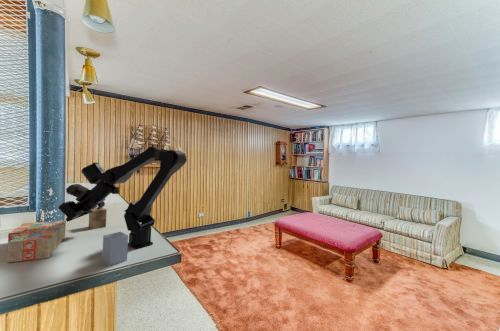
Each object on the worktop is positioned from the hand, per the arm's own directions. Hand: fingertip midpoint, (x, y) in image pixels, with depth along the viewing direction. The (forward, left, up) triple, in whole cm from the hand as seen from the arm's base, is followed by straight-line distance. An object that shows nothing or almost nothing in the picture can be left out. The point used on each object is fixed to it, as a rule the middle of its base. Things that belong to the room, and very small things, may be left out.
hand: (67, 220), depth 86 cm
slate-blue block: (-3, +32, -7) cm, 33 cm away
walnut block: (-13, -8, -7) cm, 17 cm away
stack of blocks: (+4, +6, -4) cm, 8 cm away
